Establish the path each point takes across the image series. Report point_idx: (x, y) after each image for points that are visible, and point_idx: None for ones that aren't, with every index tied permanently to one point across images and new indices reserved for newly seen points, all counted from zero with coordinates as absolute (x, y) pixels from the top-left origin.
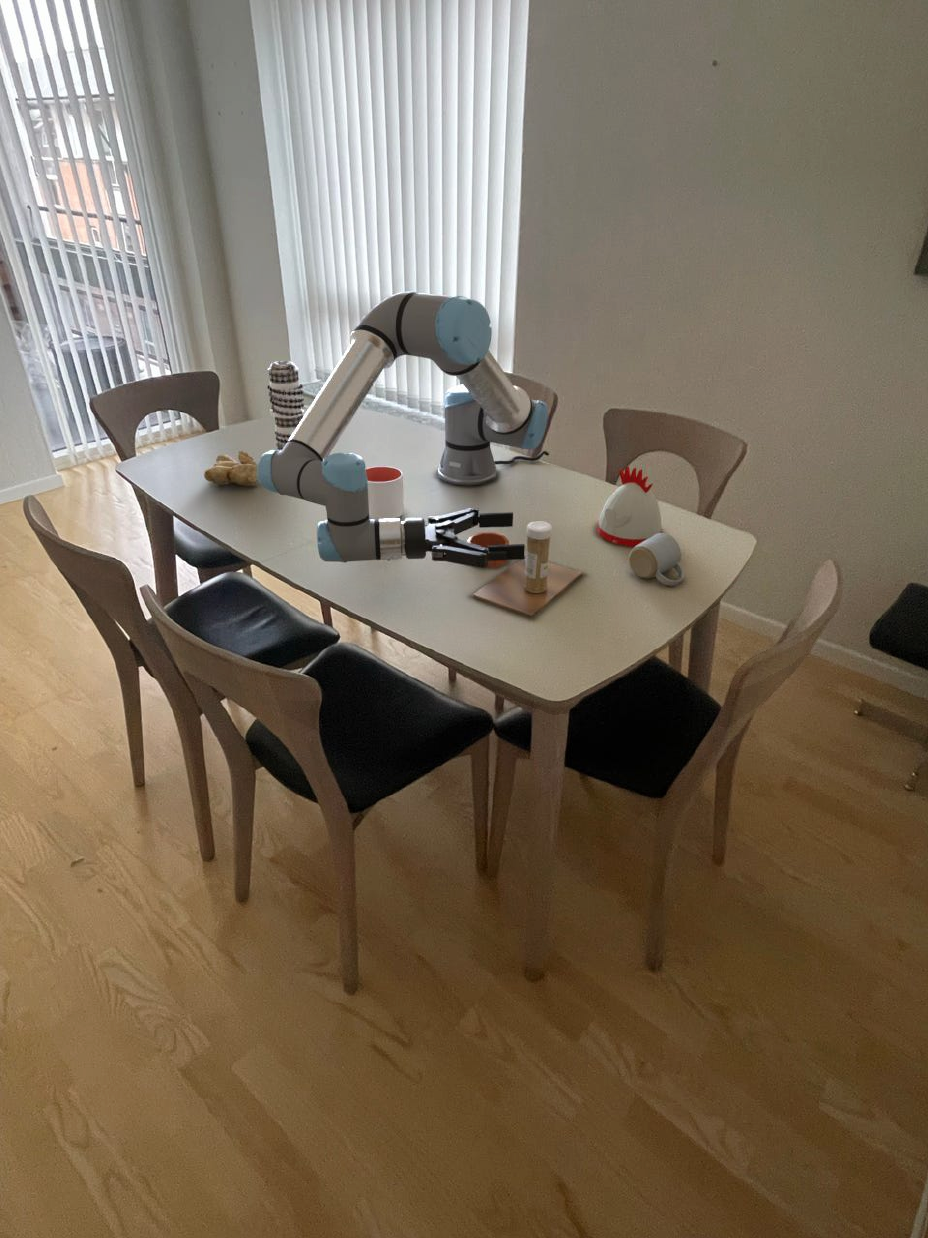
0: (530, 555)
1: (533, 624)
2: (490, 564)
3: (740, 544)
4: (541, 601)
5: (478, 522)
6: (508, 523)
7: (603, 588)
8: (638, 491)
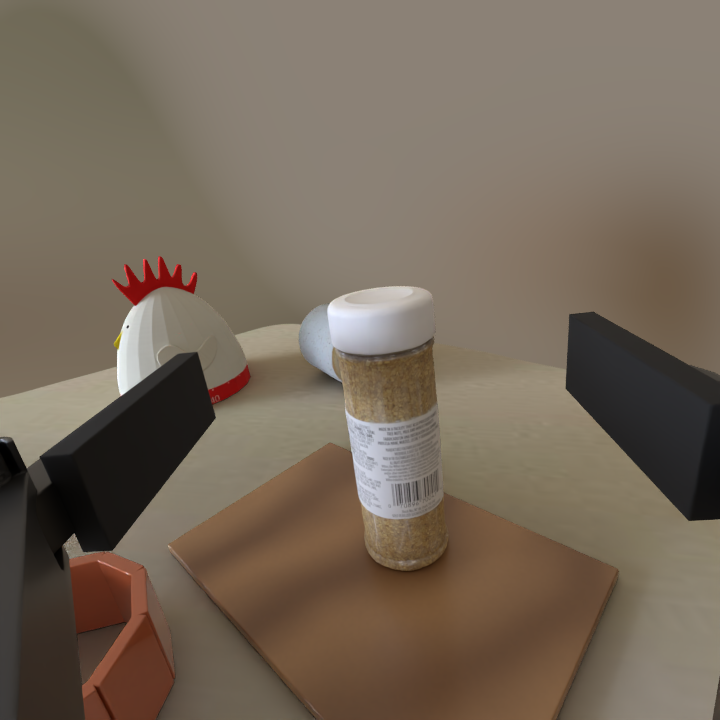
0: (425, 422)
1: (663, 577)
2: (157, 694)
3: (295, 326)
4: (498, 531)
5: (68, 530)
6: (201, 412)
7: None
8: (185, 294)
